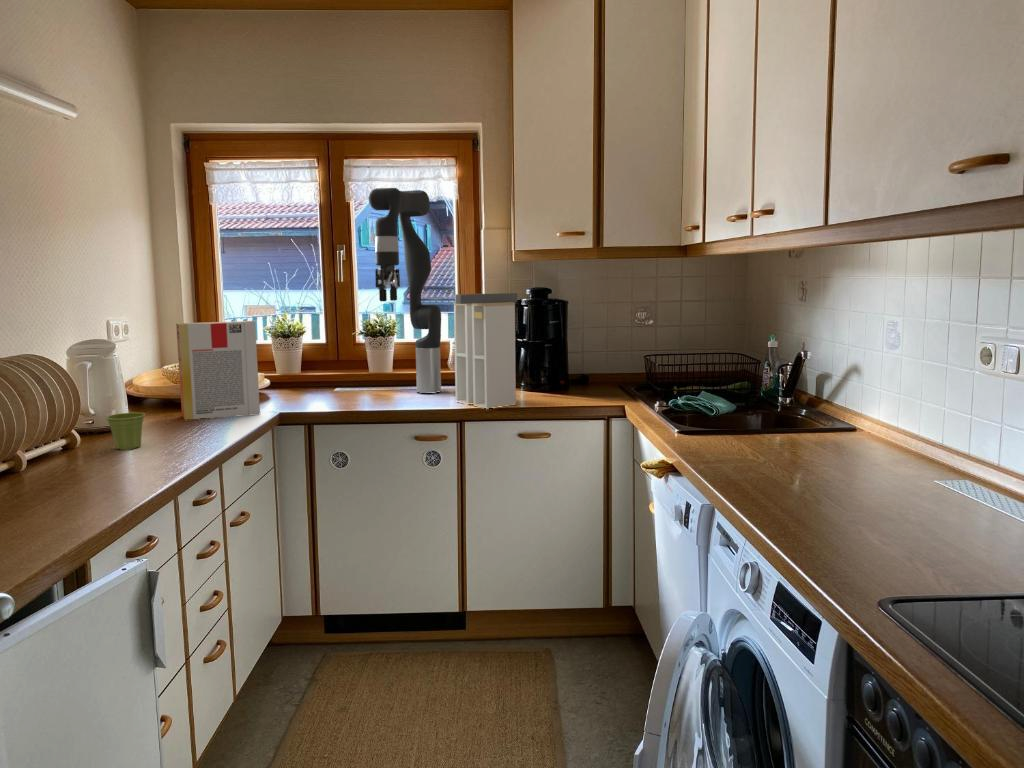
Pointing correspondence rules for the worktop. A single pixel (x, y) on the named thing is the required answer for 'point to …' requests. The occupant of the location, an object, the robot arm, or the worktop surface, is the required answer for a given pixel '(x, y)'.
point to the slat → (485, 298)
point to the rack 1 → (463, 352)
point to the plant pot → (126, 429)
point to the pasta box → (218, 369)
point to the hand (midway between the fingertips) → (388, 300)
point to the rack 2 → (493, 354)
